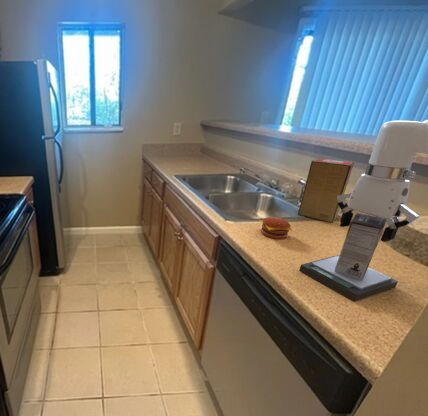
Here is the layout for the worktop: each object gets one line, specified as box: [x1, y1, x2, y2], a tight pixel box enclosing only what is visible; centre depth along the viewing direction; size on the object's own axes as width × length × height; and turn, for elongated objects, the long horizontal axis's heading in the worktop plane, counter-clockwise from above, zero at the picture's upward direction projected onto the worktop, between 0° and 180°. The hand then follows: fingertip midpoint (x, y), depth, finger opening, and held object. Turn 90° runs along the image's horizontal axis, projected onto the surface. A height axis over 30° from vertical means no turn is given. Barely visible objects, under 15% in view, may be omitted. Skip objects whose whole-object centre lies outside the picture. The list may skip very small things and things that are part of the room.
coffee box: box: [335, 212, 387, 280], centre depth 77 cm, size 9×6×16 cm
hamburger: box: [259, 216, 294, 240], centre depth 107 cm, size 9×10×7 cm
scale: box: [299, 254, 399, 302], centre depth 80 cm, size 15×17×3 cm
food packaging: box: [297, 157, 355, 224], centre depth 120 cm, size 13×9×25 cm
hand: (363, 232), depth 75 cm, fingers open, 9 cm apart
